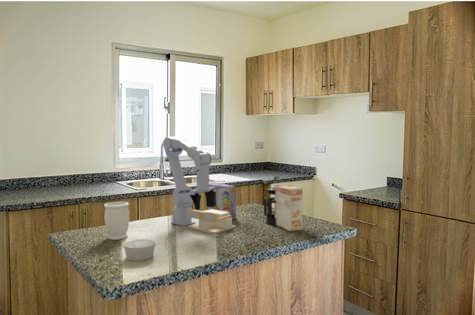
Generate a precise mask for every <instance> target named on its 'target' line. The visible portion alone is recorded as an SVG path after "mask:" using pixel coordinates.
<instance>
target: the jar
mask: <svg viewBox="0 0 475 315" xmlns="http://www.w3.org/2000/svg"><path fill="white" fill-rule="evenodd" d="M129 205H130V204H129V202H128V201H111V202H106V203H104V206H103V207H104V208H105V209H104V216H103V217H104V224H105V229H106V232H107V234H108V235H107V239H108V240H113V241H114V240H115V241H118V240H123V239H126V238H127V237H128V233H127V232H128V231H129V225H130V224H129V223H130V211H129Z"/></svg>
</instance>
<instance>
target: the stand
mask: <svg viewBox="0 0 475 315" xmlns="http://www.w3.org/2000/svg"><path fill="white" fill-rule="evenodd" d="M203 211H204V212H210V213H215V214H218V218H221V217H225V216H228V215H230V212H225V211H219V210H214V209H210V210H209V209H206V210H203ZM186 228H187V229H191V230H196V231H200V232H204V233H209V234H213V235H216V234H221V233H222V232H225V231H229V230H232V229H235V228H237V225H236V224H235V225H234V224H233V219H232V218H228V219H224V220H221V221H218V222H211V221H206V220H201V219H198V222H197V223H193V224H189V225H186Z"/></svg>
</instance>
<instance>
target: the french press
mask: <svg viewBox="0 0 475 315" xmlns="http://www.w3.org/2000/svg"><path fill="white" fill-rule="evenodd" d="M270 178H271V179H274V186H275V185H277V184H276V182H277V179H279V178H280V176H271V177H270ZM265 190H266V194H267V195H274V196H273V197H272V196H271V197H264V199H263V203H264V204H263V216H265V218H266V221H265V224H267V225H271V226H277V225H276V218H274V213H275V211H274V207H273V204H274V203H276V200H275V195H276V190H275V187H268V188H266V189H265Z"/></svg>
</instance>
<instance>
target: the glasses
mask: <svg viewBox="0 0 475 315" xmlns="http://www.w3.org/2000/svg"><path fill="white" fill-rule="evenodd" d="M204 211H205V210H200V209H199V210H196V209H195V208H194V209H193V208H192V210H190V217H191V218H192V219H197V220H199V219H201V220H206V221H211V222H218V221H221V220H224V219H228V218H231V217H232V215H228V216H225V217H221V218H218V214H215V213H210V212H204Z"/></svg>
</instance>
